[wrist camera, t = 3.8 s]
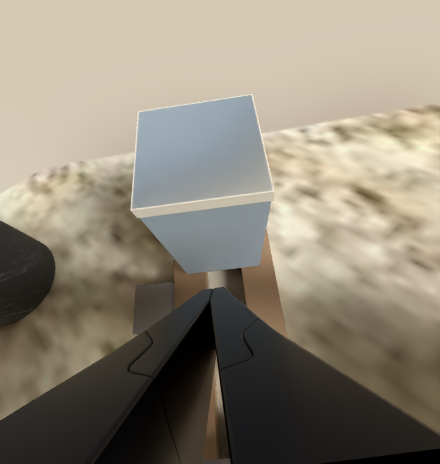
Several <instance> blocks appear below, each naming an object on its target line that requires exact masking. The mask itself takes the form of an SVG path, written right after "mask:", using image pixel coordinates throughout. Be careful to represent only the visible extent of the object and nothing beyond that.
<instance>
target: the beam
mask: <svg viewBox="0 0 440 464" xmlns="http://www.w3.org/2000/svg"><path fill="white" fill-rule="evenodd" d="M241 271H242V278H243V286H244V293H245V301H246V307H248V308H249V309H250V310H251V311H252V312H253V313H255V314H256V315H257V316H258V317H259V318H261V319H262V320H263V321H265V322H266V323H267V324H268V325H270V326H271V327H272V328H273V329H275V330H276V331H277V332H279V333H280V334H282V335H283V336H285V337H286V338H287V334H286V328H285V323H284V318H283V313H282V308H281V303H280V297H279V292H278V287H277V282H276V277H275V271H274V266H273V261H272V256H271V251H270V246H269V240H268V235H267V230H266V232H265V237H264V243H263V249H262V254H261V260H260V266H252V267H244V268H241ZM203 289H209V285H208V272H201V273H193V274H187V273H186V272H185V271H184V270H183V268H182V267H181V266H180V265H179V264H178V262H177V261H176V260H175V259H174V284H173V283H172V282H164V283H156V284H147V285H138V286H136V293H135V311H134V328H133V334H140V333H141V332H143V331H145V330H146V329H148V328H149V327H151V326H152V325H153V324H155V323H156V322H158V321H159V320H160V319H162V318H163V317H165V316H166V315H168V314H169V313H170V312H172V311H173V310H175V309H176V308H177V307H179V306H180V305H182V304H183V303H184V302H186V301H187V300H189V299H190V298H191V297H193V296H194V295H196V294H197V293H199V292H200V291H201V290H203ZM202 464H230V458H224V459H221V453H220V439H219V425H218V411H217V397H216V383H215V369H214V376H213V383H212V391H211V399H210V407H209V414H208V422H207V430H206V438H205V445H204V453H203V461H202Z"/></svg>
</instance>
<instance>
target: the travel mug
mask: <svg viewBox="0 0 440 464" xmlns="http://www.w3.org/2000/svg"><path fill="white" fill-rule="evenodd" d="M54 274H55V261H54V257H53V255H52V253H51V251H50V250H49V249H48V248H47V247H46V246H45V245H44V244H42V243H40V242H39V241H37V240H35V239H33V238H32V237H30V236H28V235H26V234H24V233H22V232H21V231H19V230H17V229H15V228H13V227H11V226H9V225H7V224H6V223H4V222H2V221H0V326H2V325H7V324H10V323H13V322H16V321H18V320H20V319H22V318H23V317H25V316H26V315H28V314H29V313H30V312H32V311H33V310H34V309H35V308H36V307H37V306H38V305H39V304H40V303H41V301H42V300H43V299H44V297H45V296H46V294H47V293H48V291H49V289H50V287H51V285H52V282H53V279H54Z"/></svg>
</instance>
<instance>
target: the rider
mask: <svg viewBox="0 0 440 464" xmlns="http://www.w3.org/2000/svg"><path fill="white" fill-rule="evenodd" d="M135 145H136V146H135V158H134V171H133V184H132V197H131V212H132V213H133V214H134V215H135V216H136V217H137V218H140V219H141V220H142V221H143V223H144V224H145V225H146V226H147V227H148V228H149V230H150V231H151V232H152V233H153V234H154V235H155V237H156V238H157V239H158V240H159V241H160V243H161V244H162V245H163V246H164V247H165V248H166V250H167V251H168V252H169V253H170V254H171V255H172V257H173V258H174V259H175V260H176V261H177V262H178V264H179V265H180V266H181V267H182V268H183V270H184V271H185V272H186V273H187V274H193V273H201V272H210V271H218V270H227V269H235V268H244V267H252V266H260V260H261V254H262V249H263V243H264V237H265V232H266V226H267V220H268V215H269V209H270V203H271V201H273V197H274V187H273V183H272V178H271V174H270V169H269V165H268V160H267V156H266V152H265V147H264V143H263V138H262V134H261V129H260V125H259V121H258V116H257V112H256V107H255V103H254V98H253V94H249V95H242V96H236V97H229V98H223V99H216V100H210V101H203V102H197V103H190V104H183V105H176V106H171V107H164V108H157V109H151V110H144V111H138V119H137V131H136V144H135Z"/></svg>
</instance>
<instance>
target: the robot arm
mask: <svg viewBox="0 0 440 464" xmlns="http://www.w3.org/2000/svg"><path fill="white" fill-rule="evenodd" d="M216 354H217V362H218V370H219V378H220V386H221V394H222V402H223V409H224V417H225V425H226V433H227V441H228V448H229V456H230V464H440V433H438V432H437V431H435V430H434V429H432V428H430V427H429V426H427V425H426V424H424V423H422V422H421V421H419V420H418V419H416V418H414V417H413V416H411V415H410V414H408V413H406V412H405V411H403V410H402V409H400V408H398V407H397V406H395V405H394V404H392V403H390V402H389V401H387V400H386V399H384V398H382V397H381V396H379V395H378V394H376V393H374V392H373V391H371V390H370V389H368V388H366V387H365V386H363V385H362V384H360V383H358V382H357V381H355V380H354V379H352V378H350V377H349V376H347V375H346V374H344V373H342V372H341V371H339V370H338V369H336V368H334V367H333V366H331V365H330V364H328V363H326V362H325V361H323V360H322V359H320V358H318V357H317V356H315V355H314V354H312V353H310V352H309V351H307V350H306V349H304V348H302V347H301V346H299V345H298V344H296V343H294V342H293V341H291V340H290V339H288V338H286V337H285V336H283V335H282V334H280V333H279V332H277V331H276V330H275V329H273V328H272V327H271V326H270V325H268V324H267V323H266V322H265V321H263V320H262V319H261V318H259V317H258V316H257V315H256V314H255V313H253V312H252V311H251V310H250V309H249V308H248V307H246V306H245V305H244V304H243V303H242V302H241V301H239V300H238V299H237V298H236V297H235V296H233V295H232V294H231V293H230V292H229V291H228V290H226V289H225V288H224V287H220V288H214V289H203V290H201V291H200V292H199V293H197V294H196V295H194V296H193V297H191V298H190V299H189V300H187V301H186V302H184V303H183V304H182V305H180V306H179V307H177V308H176V309H175V310H173V311H172V312H170V313H169V314H168V315H166V316H165V317H163V318H162V319H160V320H159V321H158V322H156V323H155V324H153V325H152V326H151V327H149V328H148V329H146V330H145V331H143V332H141V333H140V334H139V335H137V336H136V337H134V338H133V339H131V340H130V341H128V342H127V343H126V344H124V345H123V346H121V347H119V348H118V349H116V350H115V351H113V352H111V353H110V354H108V355H107V356H105V357H104V358H102V359H100V360H99V361H97V362H95V363H94V364H92V365H90V366H89V367H87V368H86V369H84V370H82V371H81V372H79V373H77V374H76V375H74V376H72V377H71V378H69V379H68V380H66V381H64V382H63V383H61V384H59V385H58V386H56V387H55V388H53V389H51V390H50V391H48V392H46V393H45V394H43V395H41V396H40V397H38V398H37V399H35V400H33V401H32V402H30V403H28V404H27V405H25V406H23V407H22V408H20V409H19V410H17V411H15V412H14V413H12V414H10V415H9V416H7V417H5V418H4V419H2V420H1V421H0V464H202V461H203V453H204V445H205V438H206V430H207V422H208V414H209V407H210V399H211V391H212V383H213V376H214V368H215V360H216Z"/></svg>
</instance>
